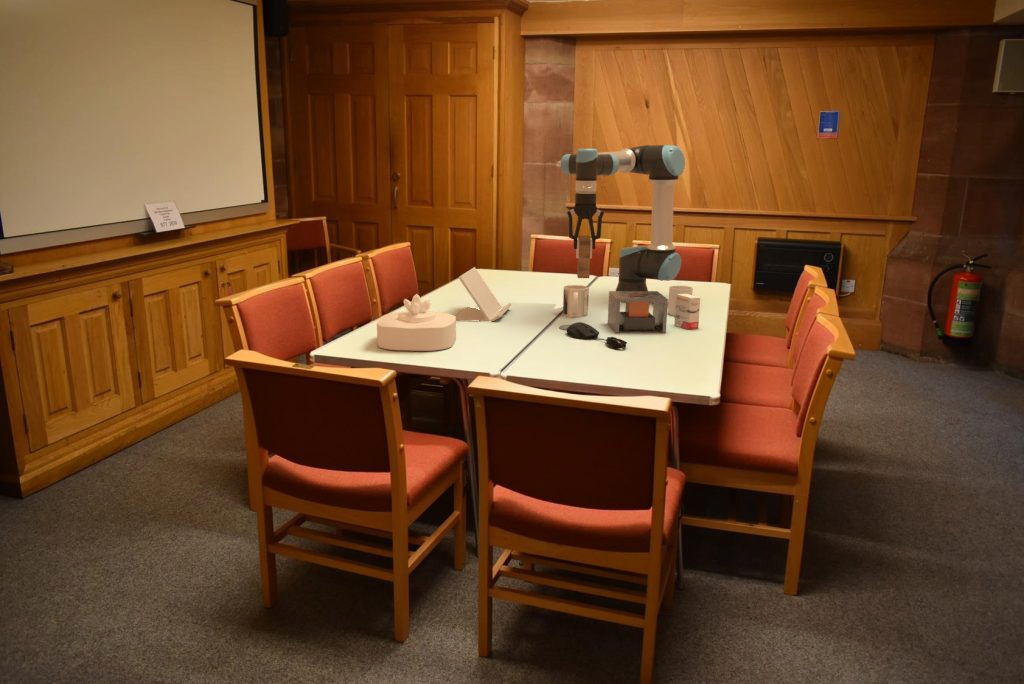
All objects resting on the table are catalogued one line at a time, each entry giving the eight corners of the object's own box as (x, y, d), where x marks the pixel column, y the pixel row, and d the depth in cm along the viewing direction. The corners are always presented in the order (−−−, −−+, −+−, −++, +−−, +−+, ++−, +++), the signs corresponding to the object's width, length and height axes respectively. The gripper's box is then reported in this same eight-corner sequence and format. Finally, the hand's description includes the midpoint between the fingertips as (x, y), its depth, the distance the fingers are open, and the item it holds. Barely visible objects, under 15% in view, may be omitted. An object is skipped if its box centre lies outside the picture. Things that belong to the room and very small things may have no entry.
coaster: (558, 325, 284) (558, 324, 284) (579, 325, 285) (579, 324, 285) (560, 330, 277) (560, 329, 277) (582, 330, 277) (582, 329, 277)
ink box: (699, 328, 282) (701, 296, 279) (688, 329, 280) (690, 297, 277) (684, 324, 290) (686, 293, 287) (673, 325, 288) (675, 293, 285)
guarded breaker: (607, 323, 289) (609, 291, 286) (655, 323, 290) (657, 291, 287) (615, 333, 274) (616, 299, 271) (665, 333, 275) (667, 299, 272)
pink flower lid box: (450, 351, 247) (449, 301, 244) (372, 349, 248) (370, 300, 244) (458, 333, 272) (458, 288, 268) (387, 332, 272) (386, 287, 269)
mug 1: (594, 315, 304) (595, 287, 301) (575, 319, 296) (576, 290, 293) (573, 311, 311) (574, 284, 308) (554, 315, 302) (554, 287, 300)
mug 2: (688, 318, 300) (690, 290, 297) (665, 316, 303) (667, 288, 301) (694, 313, 310) (696, 285, 308) (672, 311, 314) (674, 283, 311)
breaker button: (625, 314, 284) (625, 297, 283) (644, 314, 284) (644, 297, 283) (628, 317, 277) (629, 301, 276) (648, 317, 278) (649, 301, 276)
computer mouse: (576, 332, 276) (577, 319, 275) (634, 347, 255) (635, 333, 254) (559, 335, 271) (559, 321, 270) (617, 351, 250) (618, 336, 249)
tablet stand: (453, 320, 293) (453, 275, 289) (468, 308, 317) (468, 266, 313) (500, 322, 290) (500, 277, 286) (511, 310, 314) (512, 268, 310)
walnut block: (577, 276, 287) (578, 235, 283) (588, 276, 287) (589, 235, 283) (578, 278, 283) (579, 236, 279) (589, 278, 283) (590, 236, 279)
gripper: (563, 193, 274) (561, 259, 279) (611, 193, 274) (608, 259, 280) (561, 192, 281) (559, 256, 287) (608, 192, 282) (605, 256, 287)
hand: (583, 257), depth 283 cm, fingers closed on walnut block, 4 cm apart
